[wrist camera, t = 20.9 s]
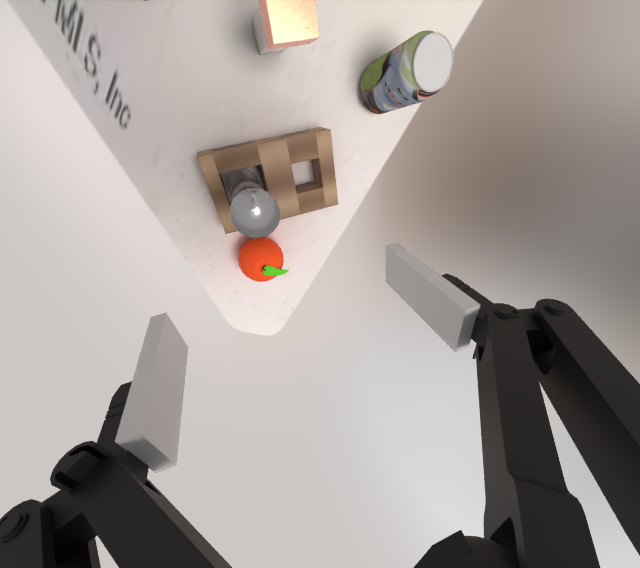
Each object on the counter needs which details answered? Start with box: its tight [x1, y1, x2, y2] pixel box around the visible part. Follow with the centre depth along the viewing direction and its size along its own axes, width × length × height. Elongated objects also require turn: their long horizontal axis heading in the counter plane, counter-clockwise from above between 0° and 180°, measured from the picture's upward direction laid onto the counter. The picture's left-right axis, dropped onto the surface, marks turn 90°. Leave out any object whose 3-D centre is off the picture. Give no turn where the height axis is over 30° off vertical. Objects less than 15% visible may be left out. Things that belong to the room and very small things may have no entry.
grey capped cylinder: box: [229, 169, 280, 238], centre depth 33 cm, size 5×5×14 cm
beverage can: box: [360, 31, 453, 114], centre depth 32 cm, size 6×7×12 cm
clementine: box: [238, 237, 289, 282], centre depth 42 cm, size 8×7×7 cm
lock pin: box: [253, 0, 319, 55], centre depth 26 cm, size 4×4×12 cm
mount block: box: [197, 127, 338, 234], centre depth 38 cm, size 10×17×4 cm, turn 99°
